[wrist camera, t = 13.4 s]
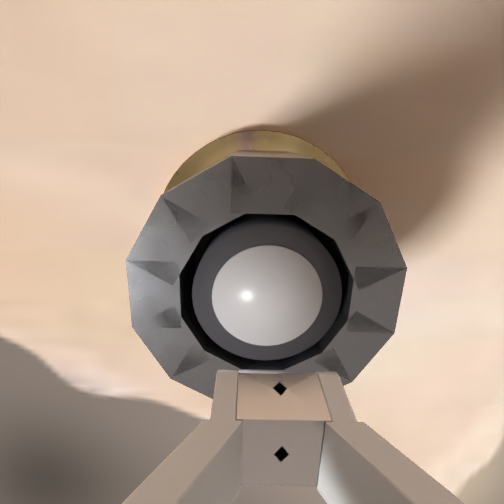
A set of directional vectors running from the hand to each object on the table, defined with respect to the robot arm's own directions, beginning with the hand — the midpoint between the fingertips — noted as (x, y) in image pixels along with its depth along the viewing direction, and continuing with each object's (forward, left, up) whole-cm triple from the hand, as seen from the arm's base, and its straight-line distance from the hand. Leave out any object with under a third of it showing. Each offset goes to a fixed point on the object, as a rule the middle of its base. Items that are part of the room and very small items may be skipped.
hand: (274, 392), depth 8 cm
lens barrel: (0, 0, -14) cm, 14 cm away
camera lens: (0, 0, -9) cm, 9 cm away
